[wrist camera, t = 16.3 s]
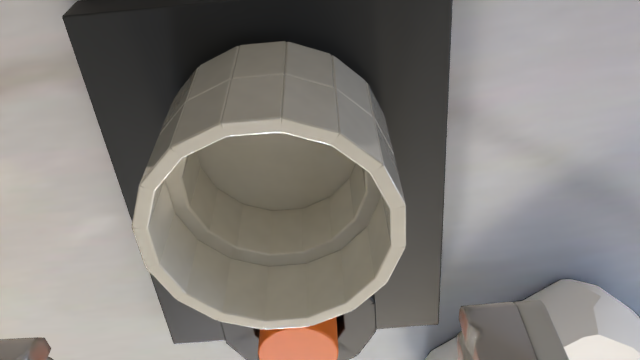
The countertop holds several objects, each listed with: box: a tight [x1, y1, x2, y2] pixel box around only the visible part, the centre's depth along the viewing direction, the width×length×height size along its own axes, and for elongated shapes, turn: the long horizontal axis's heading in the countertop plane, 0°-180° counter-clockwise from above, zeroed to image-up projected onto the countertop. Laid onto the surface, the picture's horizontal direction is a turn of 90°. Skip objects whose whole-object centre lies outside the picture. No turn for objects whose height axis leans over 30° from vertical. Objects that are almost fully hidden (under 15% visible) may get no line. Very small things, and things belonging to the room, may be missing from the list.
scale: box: [63, 0, 452, 360], centre depth 20 cm, size 14×11×3 cm
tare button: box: [258, 317, 338, 360], centre depth 21 cm, size 3×3×2 cm
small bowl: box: [132, 41, 406, 330], centre depth 17 cm, size 7×7×5 cm
